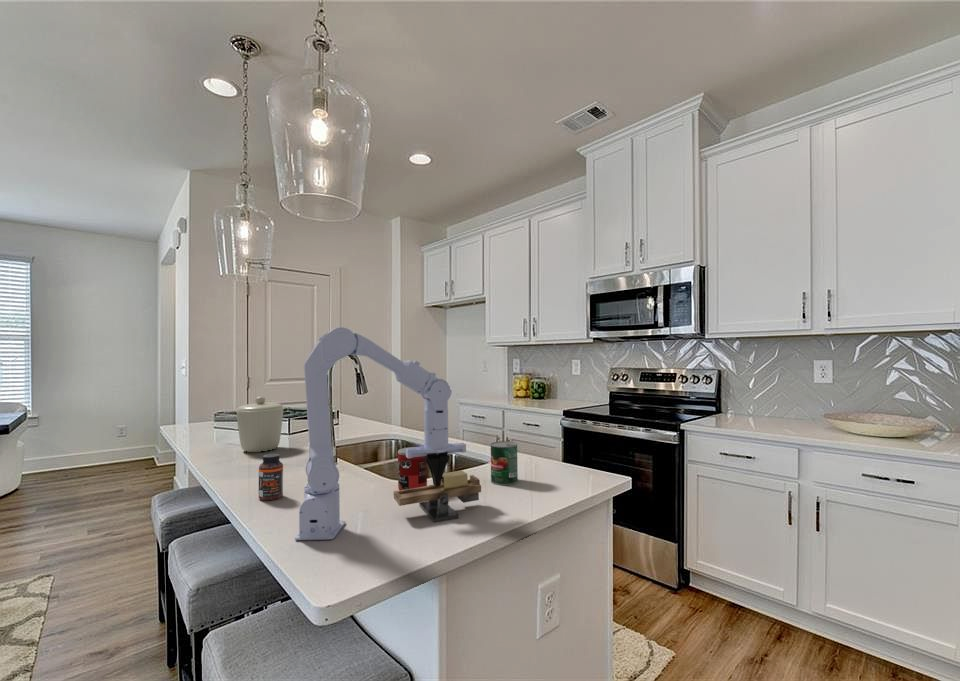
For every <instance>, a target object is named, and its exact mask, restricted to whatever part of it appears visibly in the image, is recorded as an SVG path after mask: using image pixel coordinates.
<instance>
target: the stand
mask: <svg viewBox="0 0 960 681" xmlns="http://www.w3.org/2000/svg"><path fill="white" fill-rule="evenodd" d="M431 485H432V484H429V485H428V484H427V486H431ZM418 505H419V508H420V509H421V510H422V511H423V512H424V513H425V514H426V515H427V517H428V518H429V519H430V520H431V521H432V522H433V523H439V522H445V521H450V520H455V519H456V520H457V519H459V516H460V514H458V512H457V511H455V509H453V508H452V506H450V505H449V498H448V494H447V493H446V494H439V495H438V500H432V501H426V502H420V503H418Z"/></svg>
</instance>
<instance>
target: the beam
mask: <svg viewBox="0 0 960 681" xmlns="http://www.w3.org/2000/svg"><path fill="white" fill-rule="evenodd" d="M430 485H431V486H428V485H427V486H424V487H418V488H412V489H405V490H399V489H398V490H395V491H393V499H394V500H395V502H396V504H398V506H399V507H401V506H407V505H414V504H419V503H420V502H427V501H432V500H438V495H439V494H446V493H447V494H448V499H449V498H454V497H456V498H457V499H458V500H460V501H461V502H462V503H464V504H465V503H470V502H476V501H480V498H479V496H480V494H479V493H482V485H481V480H480V478H478V477H476V476H475V475H472V474H471V475H469V479H468V487H462V488H456V489H449V490H443V491H442V490H441V489H440V486H435V485H434V484H430Z"/></svg>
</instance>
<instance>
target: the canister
mask: <svg viewBox="0 0 960 681" xmlns="http://www.w3.org/2000/svg"><path fill="white" fill-rule="evenodd" d="M254 400H255V403H248V404H243V405H240V406H238V407H237V408H236V409H234V412H235V413H236V419H237V429H238V435H239V442H240V443H239V444H240V447H241V449H242V451H244V452H246V451H247V453H262V452H261V451H265V452H269V451H268V450H270V451H273V450H275V449H277V448H278V446H279V445H280V442H281V441H280V440H281V436H282V426H283V418H284V410H285V409H286V406H284V405H282V404H281V403H277V402H266V398H265V396H257V397H255V399H254ZM276 447H277V448H276ZM272 449H273V450H272Z"/></svg>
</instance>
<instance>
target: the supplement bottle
mask: <svg viewBox="0 0 960 681" xmlns="http://www.w3.org/2000/svg"><path fill="white" fill-rule="evenodd" d="M283 494H284V464H283V463H282V462H281V461H280V454H279V453H267V454H264V455H263V456H262V463H261V464H259V466H258V499H259V500H261V501H267V502H269V501H275V500H279V499H280V498H282V497H283V496H284V495H283Z"/></svg>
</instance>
